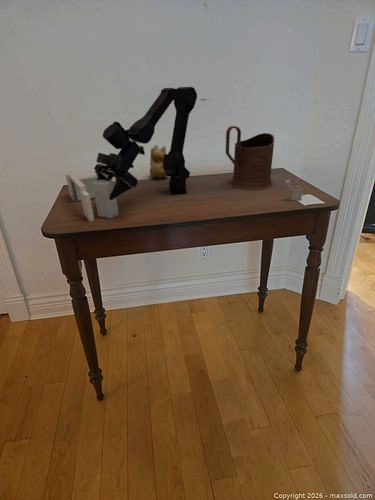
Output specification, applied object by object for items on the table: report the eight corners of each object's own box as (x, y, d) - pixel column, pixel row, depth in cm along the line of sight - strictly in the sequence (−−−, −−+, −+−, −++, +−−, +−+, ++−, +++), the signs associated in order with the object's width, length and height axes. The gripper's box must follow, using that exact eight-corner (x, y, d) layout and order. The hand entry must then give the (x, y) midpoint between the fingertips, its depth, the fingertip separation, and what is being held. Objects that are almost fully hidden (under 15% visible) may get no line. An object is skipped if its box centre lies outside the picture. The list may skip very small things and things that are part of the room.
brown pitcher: (282, 185, 134) (289, 123, 122) (240, 196, 122) (244, 129, 110) (251, 176, 148) (255, 119, 136) (211, 185, 136) (212, 124, 124)
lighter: (299, 198, 119) (302, 177, 115) (301, 199, 117) (304, 179, 113) (281, 200, 118) (284, 179, 114) (284, 201, 116) (286, 180, 112)
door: (75, 201, 121) (71, 180, 117) (74, 199, 123) (69, 178, 119) (114, 194, 128) (111, 173, 124) (112, 192, 130) (109, 172, 126)
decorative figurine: (171, 176, 150) (170, 144, 143) (163, 181, 143) (161, 148, 136) (154, 175, 153) (152, 143, 146) (145, 179, 147) (142, 146, 140)
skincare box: (119, 214, 109) (114, 180, 104) (111, 218, 106) (106, 184, 100) (105, 211, 112) (99, 179, 106) (97, 216, 108) (91, 182, 102)
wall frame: (69, 195, 129) (64, 170, 124) (74, 195, 129) (68, 169, 124) (89, 221, 104) (83, 190, 99) (94, 220, 105) (89, 189, 100)
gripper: (94, 139, 106) (70, 178, 104) (126, 145, 94) (99, 189, 93) (117, 159, 114) (95, 195, 113) (148, 167, 103) (124, 207, 101)
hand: (102, 196), depth 105 cm, fingers open, 9 cm apart
